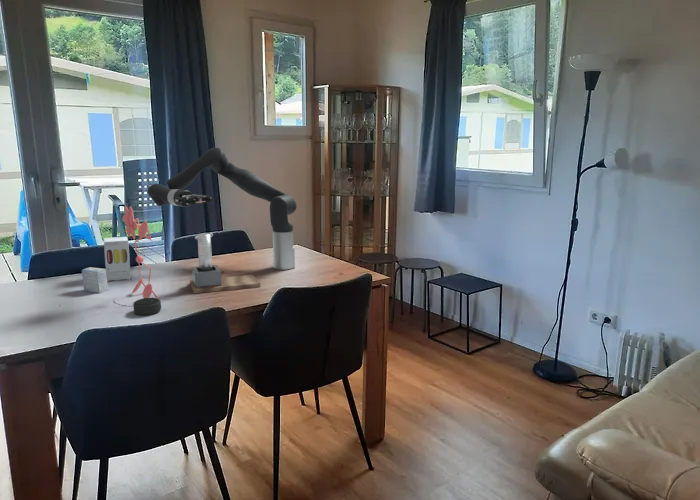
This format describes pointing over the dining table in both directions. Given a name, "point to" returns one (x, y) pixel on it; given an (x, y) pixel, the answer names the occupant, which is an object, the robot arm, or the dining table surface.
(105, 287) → the white paper stack
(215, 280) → the box
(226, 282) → the stand board
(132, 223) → the figurine
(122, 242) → the supplement box
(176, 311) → the dining table surface
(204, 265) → the silver flared cylinder
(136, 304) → the smart speaker
